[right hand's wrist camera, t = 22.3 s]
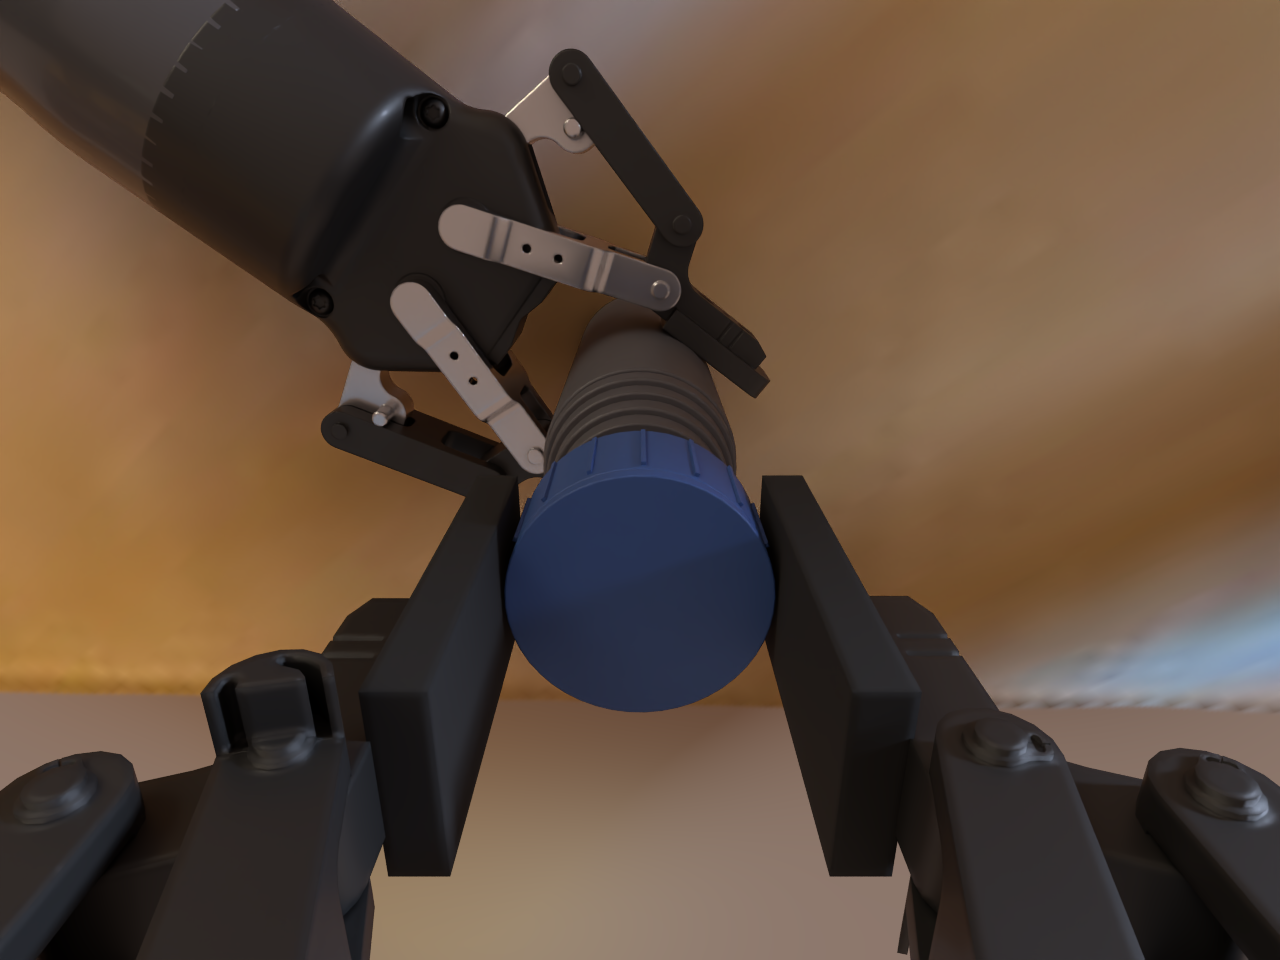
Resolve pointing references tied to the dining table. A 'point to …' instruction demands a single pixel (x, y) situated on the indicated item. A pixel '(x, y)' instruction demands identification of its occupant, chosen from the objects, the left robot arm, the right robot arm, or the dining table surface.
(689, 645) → the cap
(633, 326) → the bottle
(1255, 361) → the dining table surface
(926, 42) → the dining table surface
